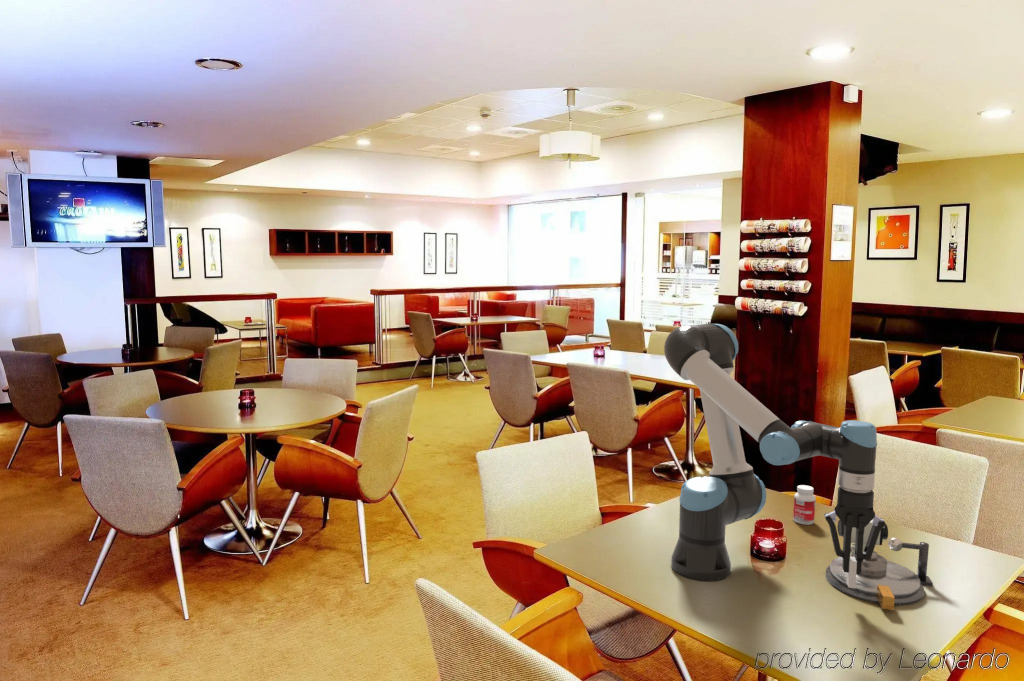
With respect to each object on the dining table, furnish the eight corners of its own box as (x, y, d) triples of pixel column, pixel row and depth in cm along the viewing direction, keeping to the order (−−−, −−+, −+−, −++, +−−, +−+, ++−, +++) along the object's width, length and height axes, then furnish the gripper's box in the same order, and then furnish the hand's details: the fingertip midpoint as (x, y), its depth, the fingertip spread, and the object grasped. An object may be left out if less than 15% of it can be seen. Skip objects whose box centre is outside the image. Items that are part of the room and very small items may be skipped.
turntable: (840, 602, 162) (841, 590, 162) (824, 558, 186) (825, 547, 186) (937, 615, 156) (938, 603, 156) (907, 568, 181) (908, 557, 180)
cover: (853, 576, 171) (855, 556, 171) (848, 562, 179) (849, 544, 178) (889, 580, 169) (891, 561, 169) (882, 566, 177) (883, 548, 176)
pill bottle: (791, 523, 214) (793, 488, 213) (793, 516, 220) (795, 483, 218) (813, 526, 211) (815, 491, 210) (814, 520, 217) (816, 486, 215)
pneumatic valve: (886, 562, 186) (889, 519, 185) (839, 558, 189) (842, 516, 187) (879, 554, 192) (882, 512, 190) (834, 550, 194) (837, 509, 193)
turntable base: (832, 597, 167) (833, 592, 166) (819, 560, 188) (820, 555, 187) (935, 611, 160) (936, 606, 160) (910, 570, 181) (911, 566, 181)
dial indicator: (887, 580, 176) (890, 540, 174) (884, 573, 180) (886, 534, 178) (932, 586, 173) (935, 545, 172) (927, 579, 177) (931, 539, 175)
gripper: (827, 490, 158) (823, 588, 161) (890, 495, 155) (885, 596, 157) (823, 481, 166) (818, 575, 168) (883, 485, 162) (878, 582, 164)
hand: (850, 585), depth 163 cm, fingers closed
